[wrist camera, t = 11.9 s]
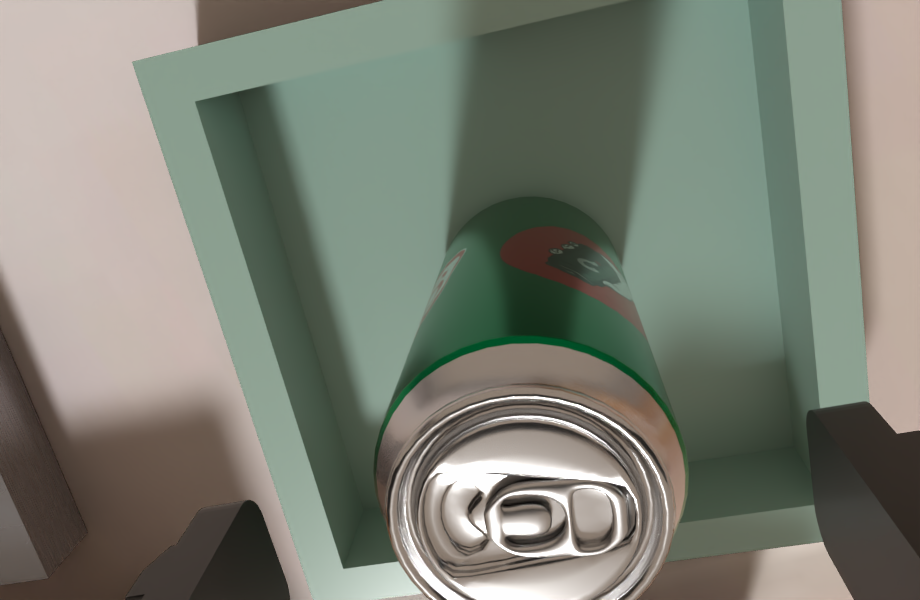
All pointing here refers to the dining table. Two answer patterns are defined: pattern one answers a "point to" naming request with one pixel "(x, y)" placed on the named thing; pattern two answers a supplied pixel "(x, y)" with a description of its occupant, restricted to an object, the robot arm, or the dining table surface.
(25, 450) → the frame
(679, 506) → the soda can
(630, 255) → the tray
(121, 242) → the dining table surface
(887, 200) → the dining table surface
